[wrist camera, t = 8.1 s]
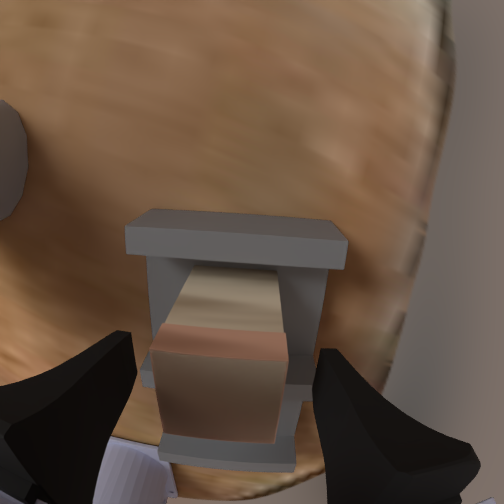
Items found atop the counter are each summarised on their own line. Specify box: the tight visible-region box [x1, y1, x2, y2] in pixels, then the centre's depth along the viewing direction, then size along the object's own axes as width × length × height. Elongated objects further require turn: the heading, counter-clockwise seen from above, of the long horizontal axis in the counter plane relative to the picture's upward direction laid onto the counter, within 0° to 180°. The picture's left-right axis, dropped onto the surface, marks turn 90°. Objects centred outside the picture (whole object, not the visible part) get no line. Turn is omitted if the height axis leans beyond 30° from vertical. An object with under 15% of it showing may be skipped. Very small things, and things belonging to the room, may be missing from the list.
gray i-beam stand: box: [125, 209, 349, 472], centre depth 17 cm, size 16×9×4 cm, turn 176°
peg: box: [149, 265, 289, 444], centre depth 13 cm, size 4×4×7 cm
